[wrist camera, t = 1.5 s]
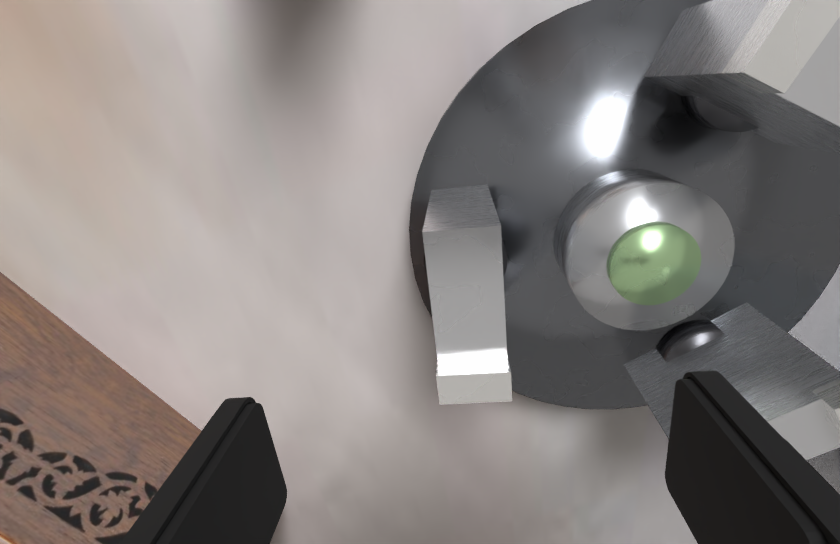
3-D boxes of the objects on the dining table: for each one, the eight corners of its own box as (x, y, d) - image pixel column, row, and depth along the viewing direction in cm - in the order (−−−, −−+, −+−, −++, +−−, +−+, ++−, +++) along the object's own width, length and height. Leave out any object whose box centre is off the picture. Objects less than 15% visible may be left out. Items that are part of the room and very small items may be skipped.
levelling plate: (877, -38, 17) (1057, -90, 12) (782, 376, 24) (868, 454, 19) (387, 31, 19) (363, 11, 14) (433, 393, 26) (428, 467, 21)
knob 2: (617, 355, 22) (680, 460, 16) (743, 291, 20) (869, 380, 14) (651, 405, 23) (723, 522, 17) (773, 348, 21) (904, 455, 15)
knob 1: (764, 157, 18) (926, 193, 12) (631, 91, 17) (728, 94, 11) (832, 65, 16) (1054, 54, 10) (690, -9, 16) (836, -68, 10)
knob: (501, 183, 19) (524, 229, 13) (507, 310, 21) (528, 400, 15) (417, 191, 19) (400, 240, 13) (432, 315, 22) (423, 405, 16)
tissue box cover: (-156, 357, 29) (-442, 484, 20) (-64, 216, 24) (-378, 295, 15) (165, 572, 35) (62, 745, 26) (284, 492, 31) (211, 666, 21)
